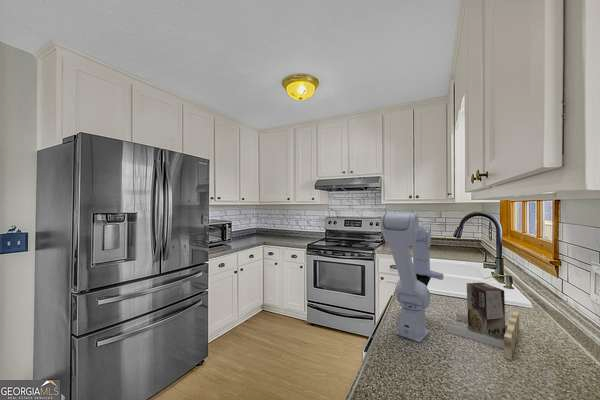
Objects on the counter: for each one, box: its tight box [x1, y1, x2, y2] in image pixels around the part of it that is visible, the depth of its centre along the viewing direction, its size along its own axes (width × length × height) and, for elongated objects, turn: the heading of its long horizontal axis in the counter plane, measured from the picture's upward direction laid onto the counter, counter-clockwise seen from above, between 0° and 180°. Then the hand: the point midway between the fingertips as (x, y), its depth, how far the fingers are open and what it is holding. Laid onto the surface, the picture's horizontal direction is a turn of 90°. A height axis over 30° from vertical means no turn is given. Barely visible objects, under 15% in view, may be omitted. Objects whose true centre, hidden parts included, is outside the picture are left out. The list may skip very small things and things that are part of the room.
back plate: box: [503, 310, 520, 361], centre depth 80 cm, size 24×2×6 cm, turn 135°
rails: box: [446, 312, 508, 350], centre depth 86 cm, size 13×16×2 cm
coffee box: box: [466, 282, 506, 339], centre depth 85 cm, size 9×6×16 cm
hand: (422, 294), depth 96 cm, fingers closed
